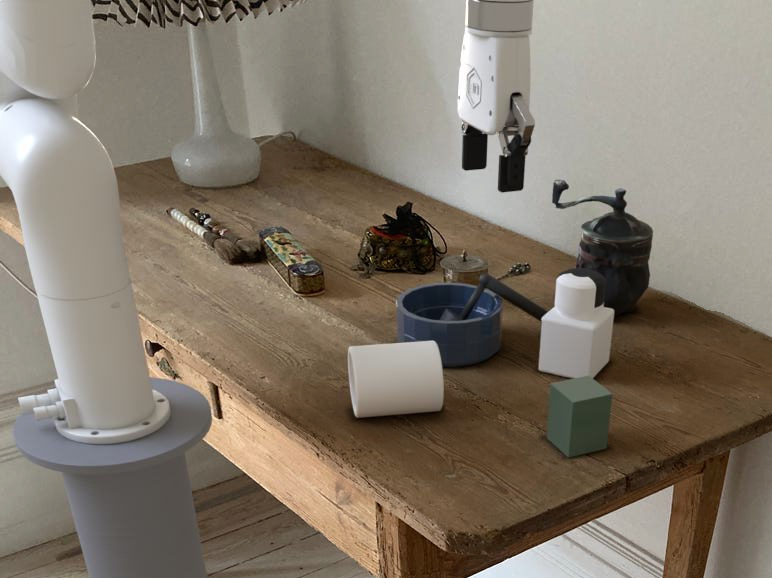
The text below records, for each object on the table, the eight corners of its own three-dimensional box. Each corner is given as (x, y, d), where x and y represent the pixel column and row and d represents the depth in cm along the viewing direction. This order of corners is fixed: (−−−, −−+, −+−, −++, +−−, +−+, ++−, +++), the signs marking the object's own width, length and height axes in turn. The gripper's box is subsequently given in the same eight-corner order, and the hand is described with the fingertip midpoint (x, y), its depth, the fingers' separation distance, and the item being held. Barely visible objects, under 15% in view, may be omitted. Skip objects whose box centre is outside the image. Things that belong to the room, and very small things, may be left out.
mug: (444, 423, 119) (444, 357, 114) (358, 430, 117) (354, 364, 112) (425, 378, 128) (424, 316, 123) (345, 384, 126) (341, 321, 121)
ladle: (448, 330, 131) (483, 272, 129) (432, 315, 135) (466, 258, 132) (536, 379, 142) (570, 326, 139) (520, 365, 145) (552, 313, 143)
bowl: (423, 376, 129) (422, 330, 125) (381, 335, 138) (380, 291, 134) (518, 357, 133) (521, 312, 130) (472, 319, 143) (473, 276, 139)
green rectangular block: (568, 457, 114) (573, 402, 109) (546, 437, 117) (550, 383, 113) (606, 448, 115) (612, 393, 111) (583, 429, 119) (588, 375, 115)
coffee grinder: (530, 303, 148) (537, 170, 136) (620, 290, 152) (635, 161, 141) (569, 337, 139) (581, 198, 127) (664, 323, 143) (683, 187, 132)
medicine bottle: (558, 350, 135) (565, 259, 128) (609, 362, 133) (619, 269, 125) (537, 371, 130) (543, 277, 123) (589, 383, 128) (598, 288, 120)
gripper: (435, 5, 119) (434, 164, 130) (504, 31, 107) (496, 203, 118) (493, 4, 122) (487, 159, 132) (567, 29, 110) (553, 197, 120)
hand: (491, 179), depth 125 cm, fingers open, 9 cm apart
